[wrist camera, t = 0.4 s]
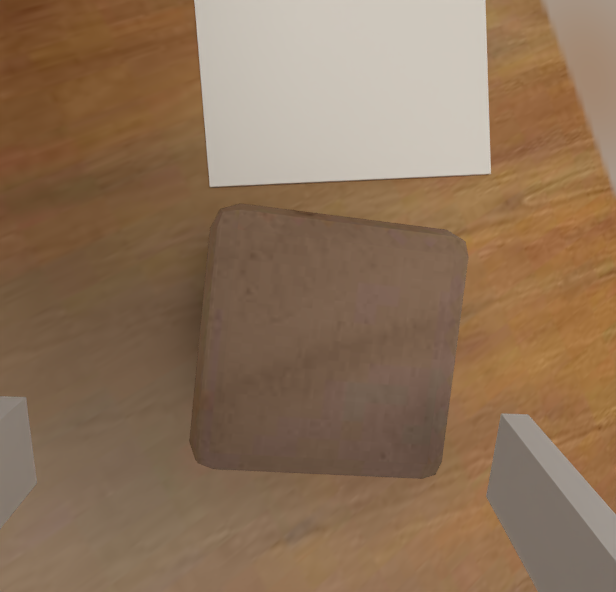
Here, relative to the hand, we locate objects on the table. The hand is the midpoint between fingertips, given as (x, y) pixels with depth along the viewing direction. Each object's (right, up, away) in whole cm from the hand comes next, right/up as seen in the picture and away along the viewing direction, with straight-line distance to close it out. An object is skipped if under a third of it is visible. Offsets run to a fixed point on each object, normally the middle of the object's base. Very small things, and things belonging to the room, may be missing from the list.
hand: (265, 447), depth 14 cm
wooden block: (-1, +4, +24) cm, 24 cm away
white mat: (+4, +21, +23) cm, 32 cm away
